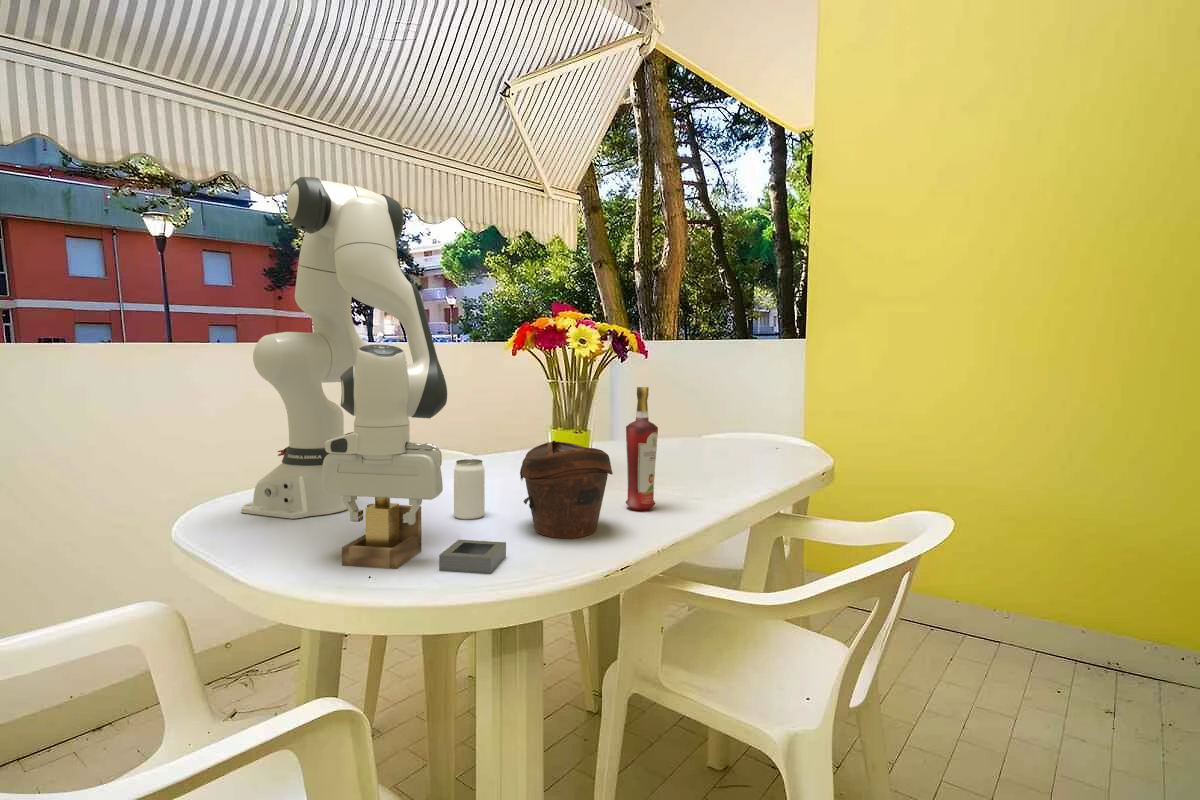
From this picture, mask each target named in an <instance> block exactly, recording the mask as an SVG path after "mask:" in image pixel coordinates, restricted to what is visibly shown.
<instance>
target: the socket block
mask: <svg viewBox="0 0 1200 800" xmlns="http://www.w3.org/2000/svg"><path fill="white" fill-rule="evenodd" d="M506 557H507V542H506V541H489V540H488V541H487V540H470V539H457V540H456V541H455V542H454V543H452V544H451V545H450V546H449V547H447V548H446V549H445V550H444V551H442V552H441V553H440V554H439V555H438V563H439V564H438V567H439V568H438V569H439V571H443V572H444V571H445V572H458V573H459V572H462V573H476V574H489V575H490V574H492V573H493V572H494V570H496V569H497V567H498V566H499V565H500V564H501V563H502V562H503V561H504V560H505V559H506Z"/></svg>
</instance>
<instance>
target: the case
mask: <svg viewBox="0 0 1200 800" xmlns="http://www.w3.org/2000/svg"><path fill="white" fill-rule="evenodd" d="M519 475H520V480H521V481H523V479H525V485H526V486H525V487H526V491H527V496H528V497H526V498H525V499H524V500H523V504H524V505H527V504H528V502H529V504H528V507H529V509H530V513H531V517H532V523H533V527H534V529H535V531H536V532H537V533H538V534H541V535H543V536H545V537H549V538H557V539H574V538H582V537H586V536H589V535H591V534H594V533H595V532H596V531H597V528H598V524H599V519H600V516H601V515H600V514H601V510H602V505H603V500H604V495H605V491H606V488H607V487H606V486H607V480H608V477H609V476H608V475H611V476H612V475H614V473H613V469H612V465H611V459H610V455H609V454H608V453H607V452H606V451H604V450H603V449H599V448H594V447H585V446H581V445H579V444H575V443H569V442H563V441H556V440H552V441H551V442H550V441H549V442H545V443H542V444H539V445H537V446H535V447H533V448H531V449H530V450H529V451H528V452H527V453H526V455H525V457H524V458H523V460H522V463H521V467H520V471H519Z"/></svg>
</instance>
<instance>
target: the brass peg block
mask: <svg viewBox="0 0 1200 800" xmlns="http://www.w3.org/2000/svg"><path fill="white" fill-rule="evenodd" d="M372 504H373V505H371V506H369V507H367V506H366V507H365V534H366V546H371V547H388V548H394V547H395V546H397V545H398V544H399V505H400V503H393V502H391V498H383V497H374V503H372Z"/></svg>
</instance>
